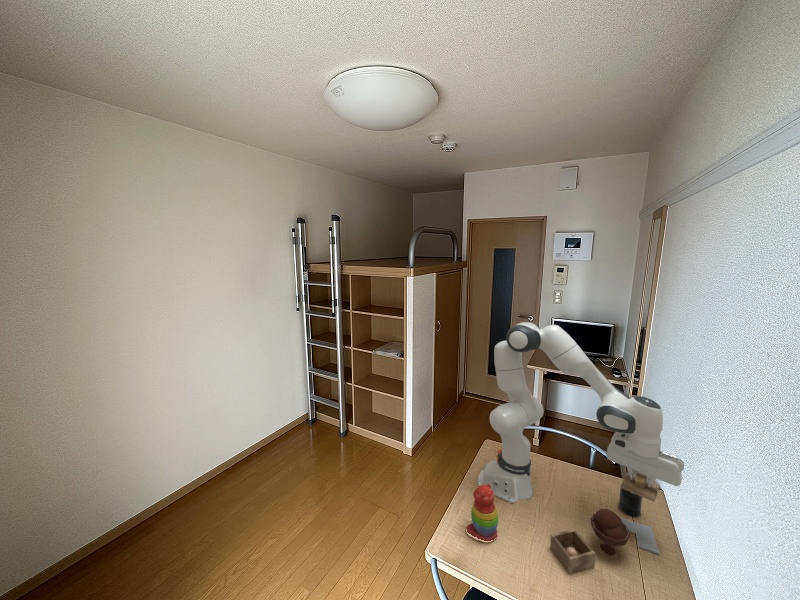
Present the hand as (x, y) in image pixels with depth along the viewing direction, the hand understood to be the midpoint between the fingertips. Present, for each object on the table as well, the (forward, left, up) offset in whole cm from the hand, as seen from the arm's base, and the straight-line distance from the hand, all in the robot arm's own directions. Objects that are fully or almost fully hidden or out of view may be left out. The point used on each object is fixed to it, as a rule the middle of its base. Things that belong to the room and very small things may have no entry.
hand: (640, 482), depth 108 cm
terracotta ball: (-20, -20, -20) cm, 34 cm away
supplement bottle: (0, +12, -21) cm, 24 cm away
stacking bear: (-48, -22, -21) cm, 57 cm away
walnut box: (-20, -20, -20) cm, 35 cm away
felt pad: (0, 0, -20) cm, 20 cm away
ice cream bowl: (-9, -11, -21) cm, 25 cm away
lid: (0, 0, -2) cm, 2 cm away
